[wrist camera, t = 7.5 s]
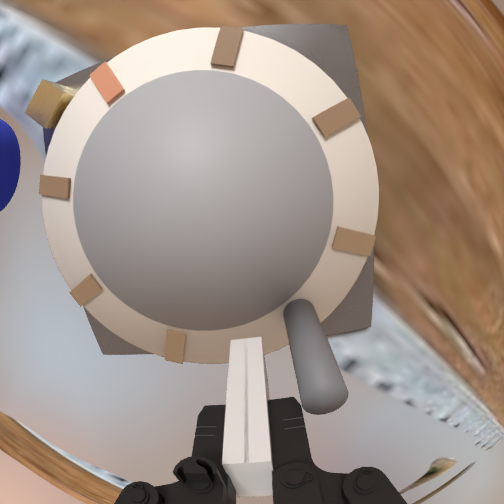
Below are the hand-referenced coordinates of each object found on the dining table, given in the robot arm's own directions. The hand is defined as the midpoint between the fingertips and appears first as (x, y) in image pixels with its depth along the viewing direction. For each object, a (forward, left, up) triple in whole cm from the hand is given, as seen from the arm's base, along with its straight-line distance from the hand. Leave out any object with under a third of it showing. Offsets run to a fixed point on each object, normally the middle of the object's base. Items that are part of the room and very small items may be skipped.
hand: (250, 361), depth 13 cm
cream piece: (-2, +7, -4) cm, 8 cm away
